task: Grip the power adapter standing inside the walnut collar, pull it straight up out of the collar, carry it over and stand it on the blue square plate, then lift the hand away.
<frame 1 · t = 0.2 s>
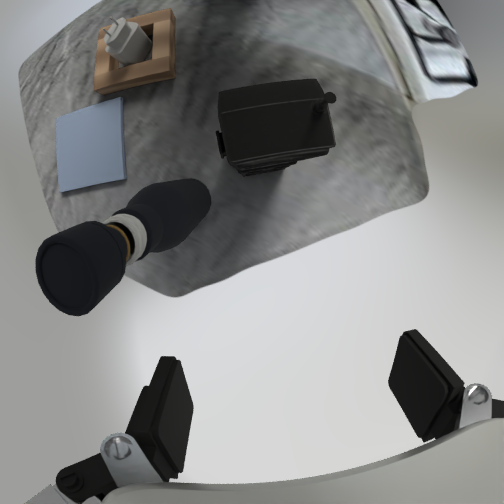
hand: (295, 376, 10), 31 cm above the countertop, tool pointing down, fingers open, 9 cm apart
portable radio: (256, 153, 37), on the countertop
black water bottle: (189, 200, 39), on the countertop
walnut collar: (138, 54, 31), on the countertop
power adapter: (139, 54, 32), resting in walnut collar
blue square plate: (89, 145, 35), on the countertop
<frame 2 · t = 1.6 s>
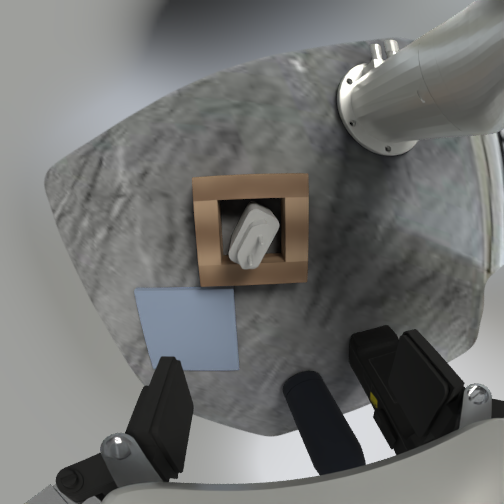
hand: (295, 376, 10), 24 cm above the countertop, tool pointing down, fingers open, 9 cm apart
portable radio: (365, 345, 38), on the countertop
black water bottle: (301, 384, 39), on the countertop
walnut collar: (251, 225, 32), on the countertop
power adapter: (251, 225, 33), resting in walnut collar
blue square plate: (189, 330, 36), on the countertop
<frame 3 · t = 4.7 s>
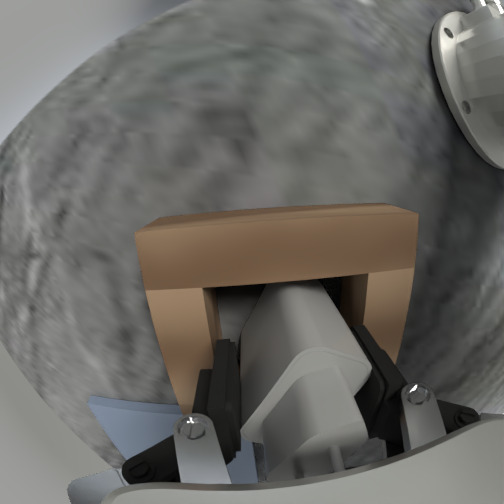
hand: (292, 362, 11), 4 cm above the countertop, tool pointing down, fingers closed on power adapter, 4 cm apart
walnut collar: (280, 314, 15), on the countertop
power adapter: (280, 312, 16), resting in walnut collar, touching gripper
blue square plate: (181, 447, 19), on the countertop
when the fingers open (6 cm above the countertop, at t = 12.7 s): power adapter stays where it is, resting on blue square plate.
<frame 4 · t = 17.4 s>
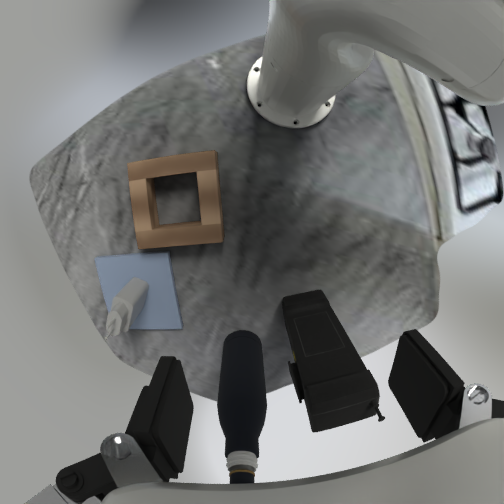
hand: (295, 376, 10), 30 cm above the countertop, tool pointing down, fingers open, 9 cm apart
portable radio: (301, 309, 44), on the countertop
black water bottle: (242, 344, 45), on the countertop
walnut collar: (179, 198, 38), on the countertop
power adapter: (137, 293, 41), point 1 cm above the countertop, touching blue square plate
blue square plate: (138, 292, 42), on the countertop
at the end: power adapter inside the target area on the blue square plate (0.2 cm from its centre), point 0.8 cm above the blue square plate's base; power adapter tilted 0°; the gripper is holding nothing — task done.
